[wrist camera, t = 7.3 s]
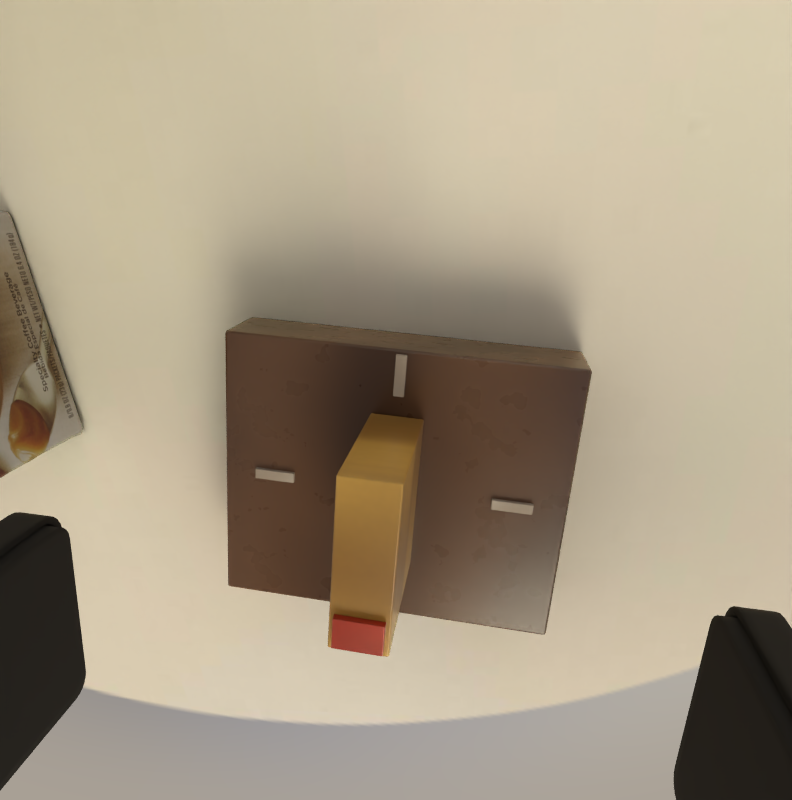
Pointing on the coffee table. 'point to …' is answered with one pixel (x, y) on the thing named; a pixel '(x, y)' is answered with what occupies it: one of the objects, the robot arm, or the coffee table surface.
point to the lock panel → (438, 472)
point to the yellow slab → (373, 533)
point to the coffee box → (28, 365)
